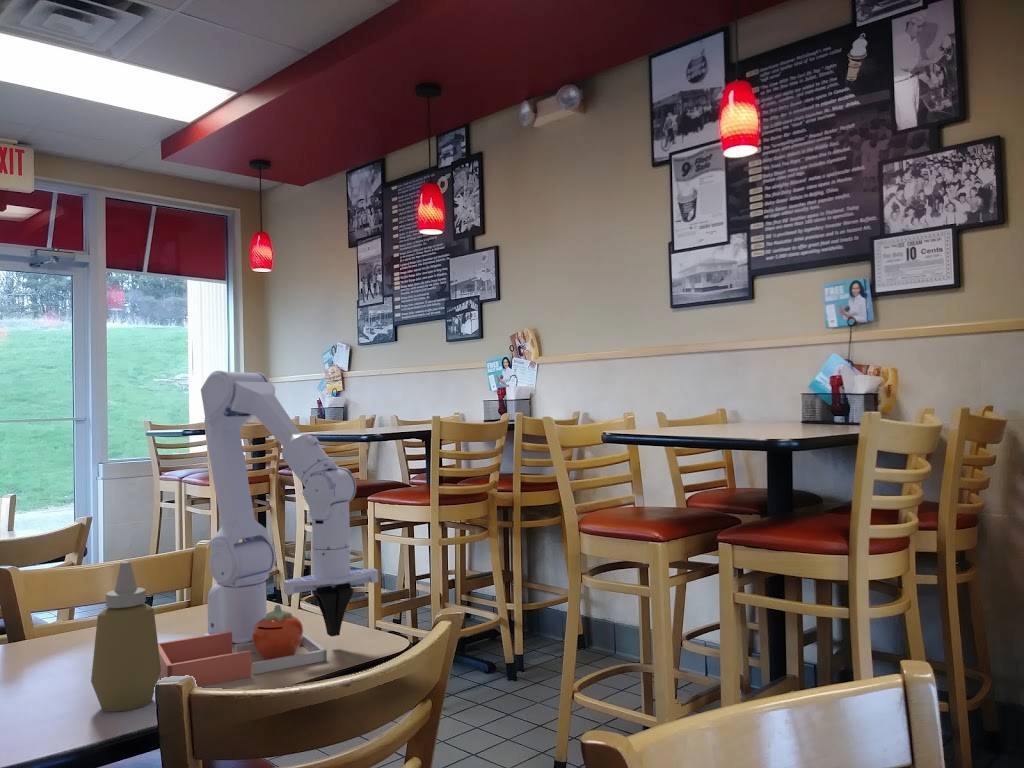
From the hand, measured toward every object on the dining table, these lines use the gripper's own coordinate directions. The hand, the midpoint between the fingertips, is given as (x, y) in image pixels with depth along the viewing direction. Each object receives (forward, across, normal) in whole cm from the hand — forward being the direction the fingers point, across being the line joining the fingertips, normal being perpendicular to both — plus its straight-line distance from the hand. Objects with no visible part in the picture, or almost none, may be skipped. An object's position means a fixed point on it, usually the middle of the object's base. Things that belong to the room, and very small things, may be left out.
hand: (333, 634), depth 124 cm
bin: (+2, -18, 0) cm, 19 cm away
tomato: (+2, -8, 0) cm, 9 cm away
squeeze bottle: (+2, -30, -8) cm, 31 cm away
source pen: (+2, -8, 0) cm, 9 cm away
